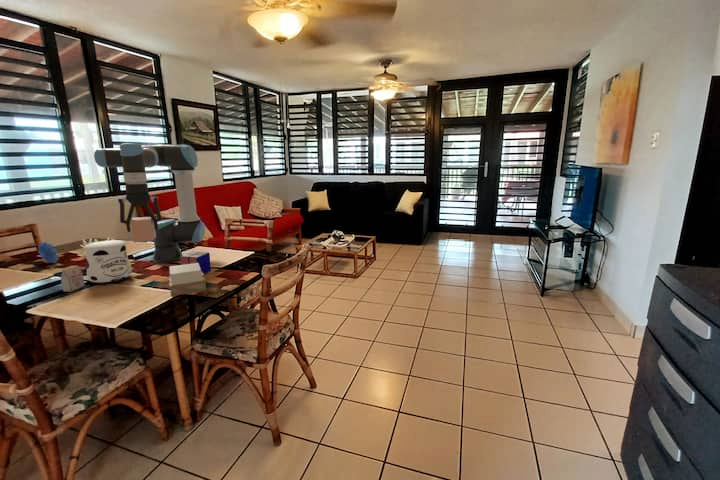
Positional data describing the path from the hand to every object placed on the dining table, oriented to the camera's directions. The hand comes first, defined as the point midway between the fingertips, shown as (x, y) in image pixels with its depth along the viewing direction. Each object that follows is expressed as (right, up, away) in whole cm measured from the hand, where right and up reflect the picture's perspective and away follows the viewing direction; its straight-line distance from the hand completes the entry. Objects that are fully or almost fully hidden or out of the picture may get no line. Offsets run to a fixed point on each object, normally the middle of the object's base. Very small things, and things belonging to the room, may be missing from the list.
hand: (144, 238), depth 141 cm
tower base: (+12, -23, +13) cm, 29 cm away
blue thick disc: (-82, -14, +44) cm, 94 cm away
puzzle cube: (+6, -18, +33) cm, 38 cm away
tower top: (+12, -18, +11) cm, 25 cm away
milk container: (-30, -20, +21) cm, 42 cm away
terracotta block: (0, -1, 0) cm, 1 cm away
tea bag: (-38, -23, +10) cm, 45 cm away
